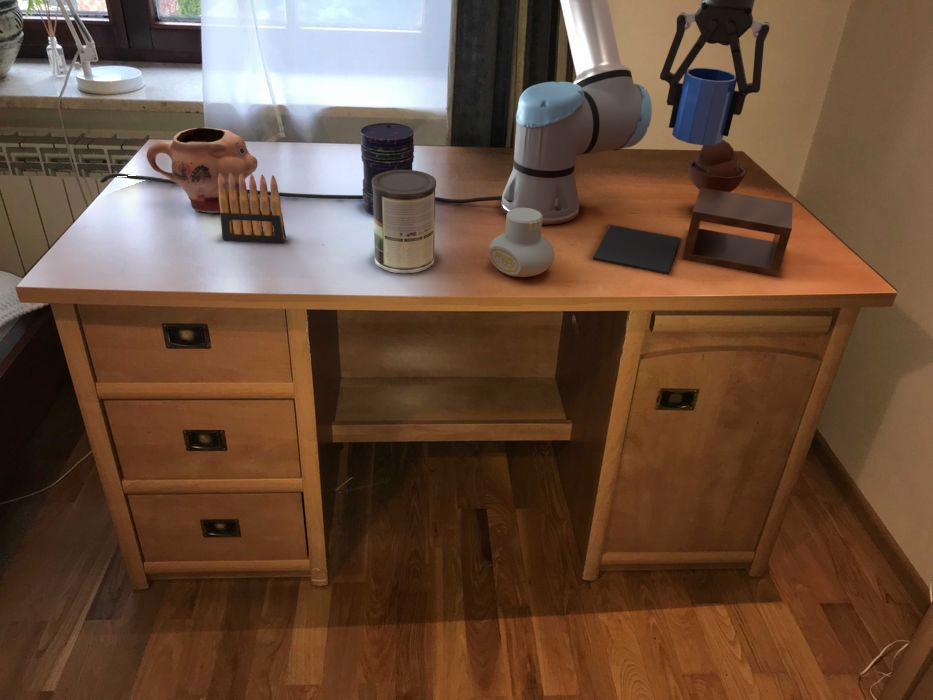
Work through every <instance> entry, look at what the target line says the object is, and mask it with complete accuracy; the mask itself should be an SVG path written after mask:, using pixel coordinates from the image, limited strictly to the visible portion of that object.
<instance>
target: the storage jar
mask: <svg viewBox="0 0 933 700" xmlns="http://www.w3.org/2000/svg"><path fill="white" fill-rule="evenodd" d="M414 132H415V131H414V129H413V128H412V127H410V126H408V125H406V124H402V123H395V122H380V123H379V122H377V123H371V124H368V125H365V126H363V127H362V128H361V129H360V137H361V138H360V153H361V161H362V163H363V165H362V167H363V179H362V195H363V199H362V200H363V210H364V212H366V213H367V214H369V215H371V216H374V213H373V187H372V179H373V178H374V177H375V176H376V175H378V174H380V173H383V172H386V171H391V170H413V163H414V160H415V159H414V158H415V155H414V154H415V144H414V141H415V140H414V137H415V136H414V134H415V133H414Z"/></svg>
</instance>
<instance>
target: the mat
mask: <svg viewBox="0 0 933 700" xmlns="http://www.w3.org/2000/svg"><path fill="white" fill-rule="evenodd" d="M680 240H681V237H678V236H673V235H669V234H668V235H667V234H662V233H656V232H652V231H646V230H640V229H635V228H629V227H624V226H619V225H614V224H610V225H609V227H608V228H607V231H606V232H605V235H604V236H603V238H602V240H601V242H600V244H599V245H598V248H597V249H596V251H595V253H594V255H593V256H592V260H594V261H599V262H603V263H610V264H613V265H614V264H615V265H619V266H625V267H630V268H633V269H640V270H645V271H650V272H654V273H660V274H666V275H669V273H670V270H671V267H672V263H673V260H674V258H675V254H676V252H677V249H678V246H679V243H680Z"/></svg>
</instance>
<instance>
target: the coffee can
mask: <svg viewBox="0 0 933 700" xmlns="http://www.w3.org/2000/svg"><path fill="white" fill-rule="evenodd" d="M372 187H373V213H374V215H373V235H374V236H373V237H374V238H373V239H374V240H373V241H374V263H375V265H376V266H377V267H378V268H380V269H382V270H384V271H386V272H390V273H395V274H415V273H419V272H423V271H425V270H427V269H429V268H430V267H432V266H433V265H434V263H435V260H436V259H435V234H436V233H435V229H436V228H435V226H436V201H435V197H436V188H437V180H436V178H435V177H434V176H433V175H432V174H429V173H426V172H424V171H420V170H415V169H412V170H391V171H386V172H383V173H380V174H378V175H376V176H375V177H374V178H373V179H372Z"/></svg>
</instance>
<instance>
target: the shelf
mask: <svg viewBox="0 0 933 700" xmlns="http://www.w3.org/2000/svg"><path fill="white" fill-rule="evenodd" d="M698 190H699V189H698ZM793 203H794V202H791V201H786V200H779V199H773V198H767V197H763V196H762V197H761V196H755V195H750V194H744V193H743V194H742V193H737V192H732V191H731V192H725V191H719V190H713V189H707V188H700V190H699V191H698V194H697V197H696V199H695V203H694V206H693V209H692V213H691V218H690V222H689V227H688V231H687V236H686V240H685V243H684V244H685V245H684V250H683V253H682V257H681V258H682V260H686V261H692V262H697V263H702V264H708V265H714V266H718V267H723V268H729V269H734V270H739V271H744V272H750V273H755V274H761V275H765V276H771V277H776V278H778V276H779V273H780V270H781V267H782V264H783V261H784V256H785V253H786V250H787V247H788V243H789V240H790V237H791V234H792V231H793V211H794V209H793V208H794V204H793ZM702 222H704V223H708V224H709V223H710V224H715V225H721V226H727V227H731V228H732V227H733V228H736V229H737V228H738V229H743V230H749V231H755V232H761V233H766V234H770V235H771V234H772V235H773V238H772V240H767V239H760V238H756V237H749V236H745V235H739V234H733V233H727V232H722V231H716V230H710V229H705V228H701V224H702Z"/></svg>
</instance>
